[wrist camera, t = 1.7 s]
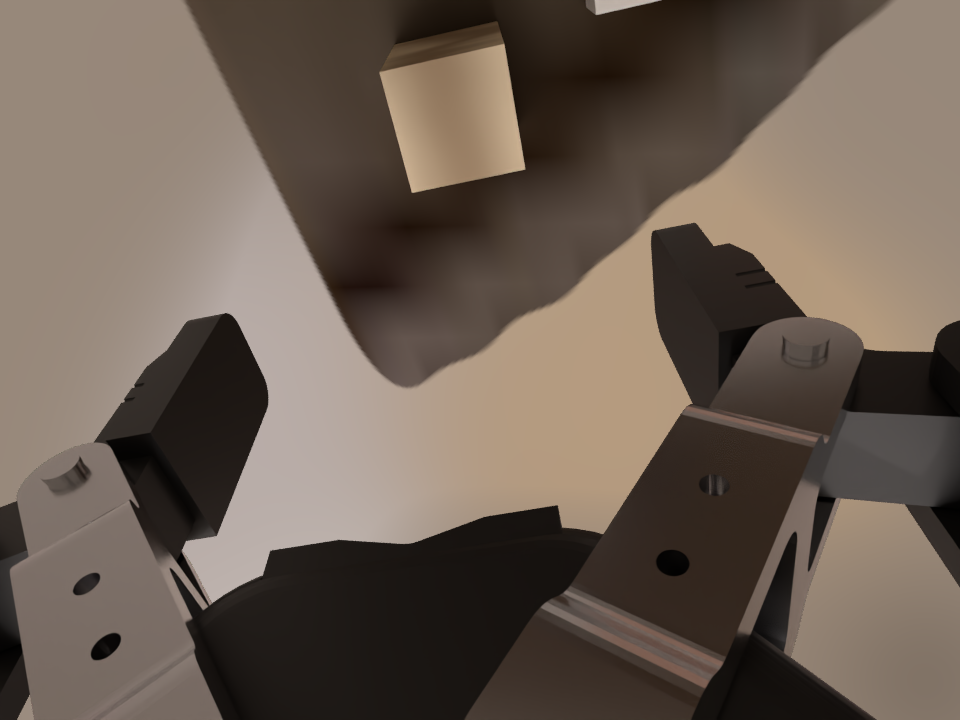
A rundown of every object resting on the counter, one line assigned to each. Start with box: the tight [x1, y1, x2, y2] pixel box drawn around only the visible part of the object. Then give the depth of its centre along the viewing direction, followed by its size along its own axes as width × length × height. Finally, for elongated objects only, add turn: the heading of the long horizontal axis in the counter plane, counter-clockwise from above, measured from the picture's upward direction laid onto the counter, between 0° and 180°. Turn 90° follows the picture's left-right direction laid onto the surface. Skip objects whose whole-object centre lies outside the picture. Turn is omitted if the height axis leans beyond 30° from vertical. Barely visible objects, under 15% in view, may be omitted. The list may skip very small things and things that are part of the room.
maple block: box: [380, 21, 525, 193], centre depth 27 cm, size 4×4×6 cm
